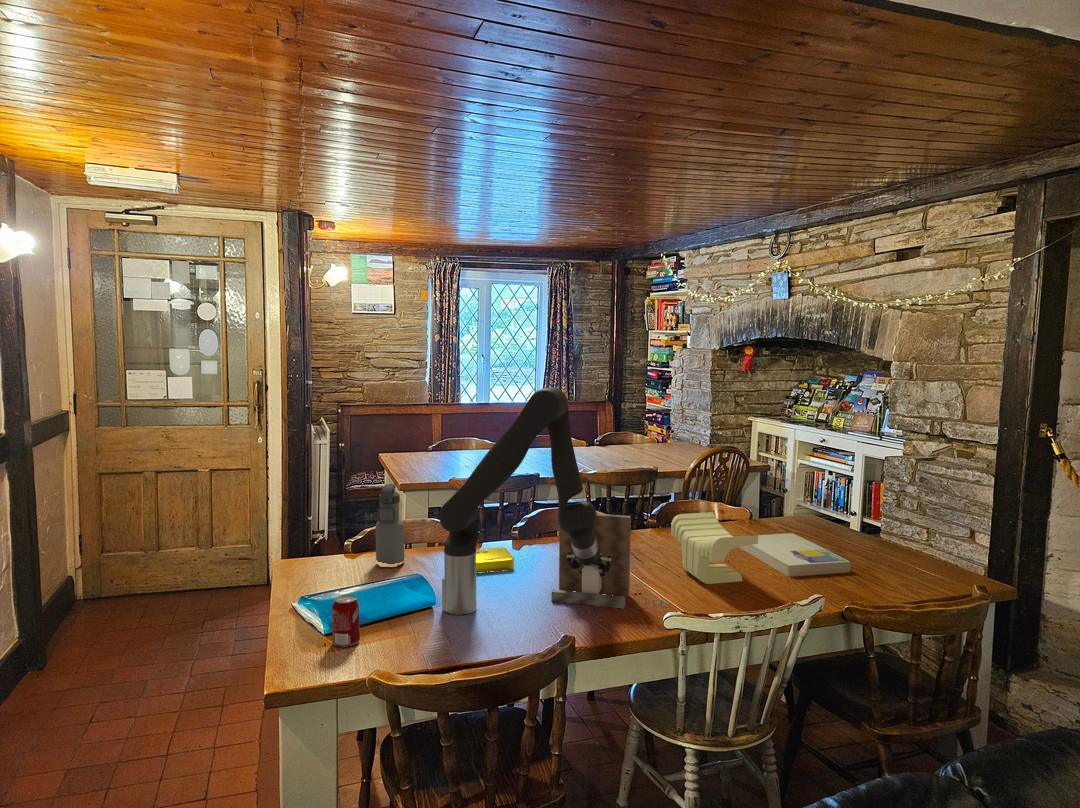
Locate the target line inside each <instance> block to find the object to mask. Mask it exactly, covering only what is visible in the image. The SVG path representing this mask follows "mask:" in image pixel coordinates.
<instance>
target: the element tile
mask: <svg viewBox="0 0 1080 808" xmlns="http://www.w3.org/2000/svg"><path fill="white" fill-rule="evenodd" d="M512 569H515V558H514V556H513V555H512V554H511V552H510V551H509V550H508V549H507V548H506V547H504V546H503V547H502V546H500V547H489V548H487V547H486V548H476V572H487V571H488V572H490V571H502V570H511V571H513V570H512ZM502 572H503V571H502Z"/></svg>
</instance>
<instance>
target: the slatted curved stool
mask: <svg viewBox="0 0 1080 808" xmlns="http://www.w3.org/2000/svg"><path fill="white" fill-rule="evenodd" d="M758 535H759V534H758ZM758 535H757V534H756V535H755V534H754V535H741V536H739V535H738V536H739V537H738V536H733V535H732V534H730V533H729V532H728V531H727V530H726V529H725V528H724V527H723V526H722V524H721V523H720V521H719V520H718V518H716V516H715V514H714V512H713V511H712V512H710V511H708V512H694V513H693V512H692V513H680V514H676V515H675V516H674V517H673V519H672V521H671V526H670V536H674V537H675V538H677V540H678V542H679V544H681V545H680V548H681V557H682V558H681V559H682V567H683V569H684V570H685V571H686V572H688V573H689V574H691V575H692V576H693V577H694V578H696V579H698V581H700V582H702V583H703V584H707V585H712V584H724V583H725V584H726V583H733V582H734V583H735V582H736V583H737V582H743V577H742V574H741V573H740V572H739V571H736V570H735V569H733V568H731V567H730V566H728V565H727V564H725V563H721V564H719V563H718V564H717V562H725V559H726V556H727V554H729V552H730V551H731V550H734V549H736V548H740V546H745V545H752V544H758ZM715 562H716V563H715ZM711 563H715V564H711Z"/></svg>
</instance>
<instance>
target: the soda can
mask: <svg viewBox="0 0 1080 808" xmlns="http://www.w3.org/2000/svg"><path fill="white" fill-rule="evenodd" d="M357 598H358V597H357V595H354V594H351V593H350V594H348V593H347V594H346V593H345V594H340V595H337V596H335V598H334V600H333V603H332V605H331V618H332V620H331V621H332V623H331V624H332V625H331V626H332V644H333V645H334V646H337V647H339V646H341V647H340V648H348V646H350V647H352V646H354V645H356V644H358V643H359V642H360V640H361V632H360V631H361V629H360V627H361V625H360V623H361V622H360V621H361V620H360V602H359V601H358V600H357Z"/></svg>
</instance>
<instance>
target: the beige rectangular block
mask: <svg viewBox="0 0 1080 808" xmlns="http://www.w3.org/2000/svg"><path fill="white" fill-rule="evenodd" d="M600 554H601V555H602V553H600ZM601 588H602V577H600V574H599V570H596V569H595V568H594V567H593V566H584V568H583V569H582V592H583V593H593V594H599V592H600V590H601Z"/></svg>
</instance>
